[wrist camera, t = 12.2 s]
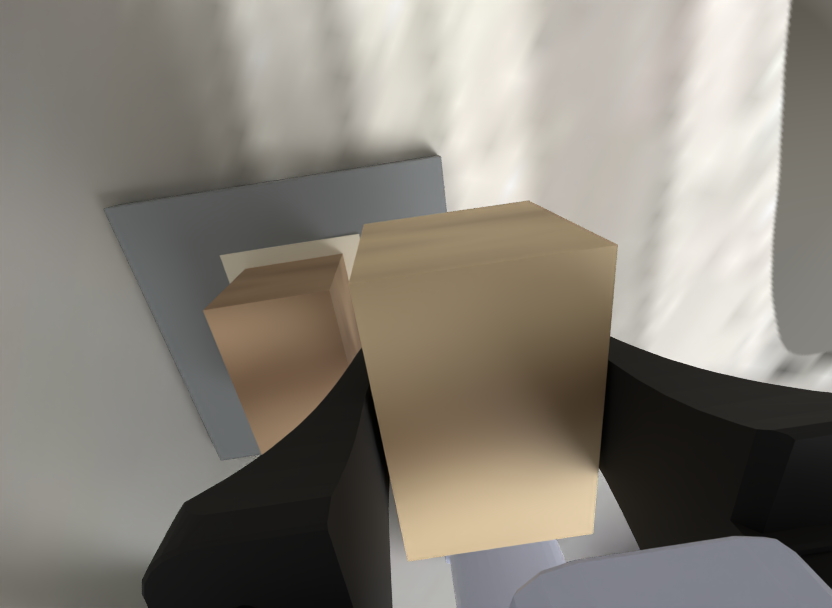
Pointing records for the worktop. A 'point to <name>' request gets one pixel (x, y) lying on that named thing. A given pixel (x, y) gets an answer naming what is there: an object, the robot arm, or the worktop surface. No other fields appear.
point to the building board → (253, 258)
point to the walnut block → (285, 339)
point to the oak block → (487, 372)
